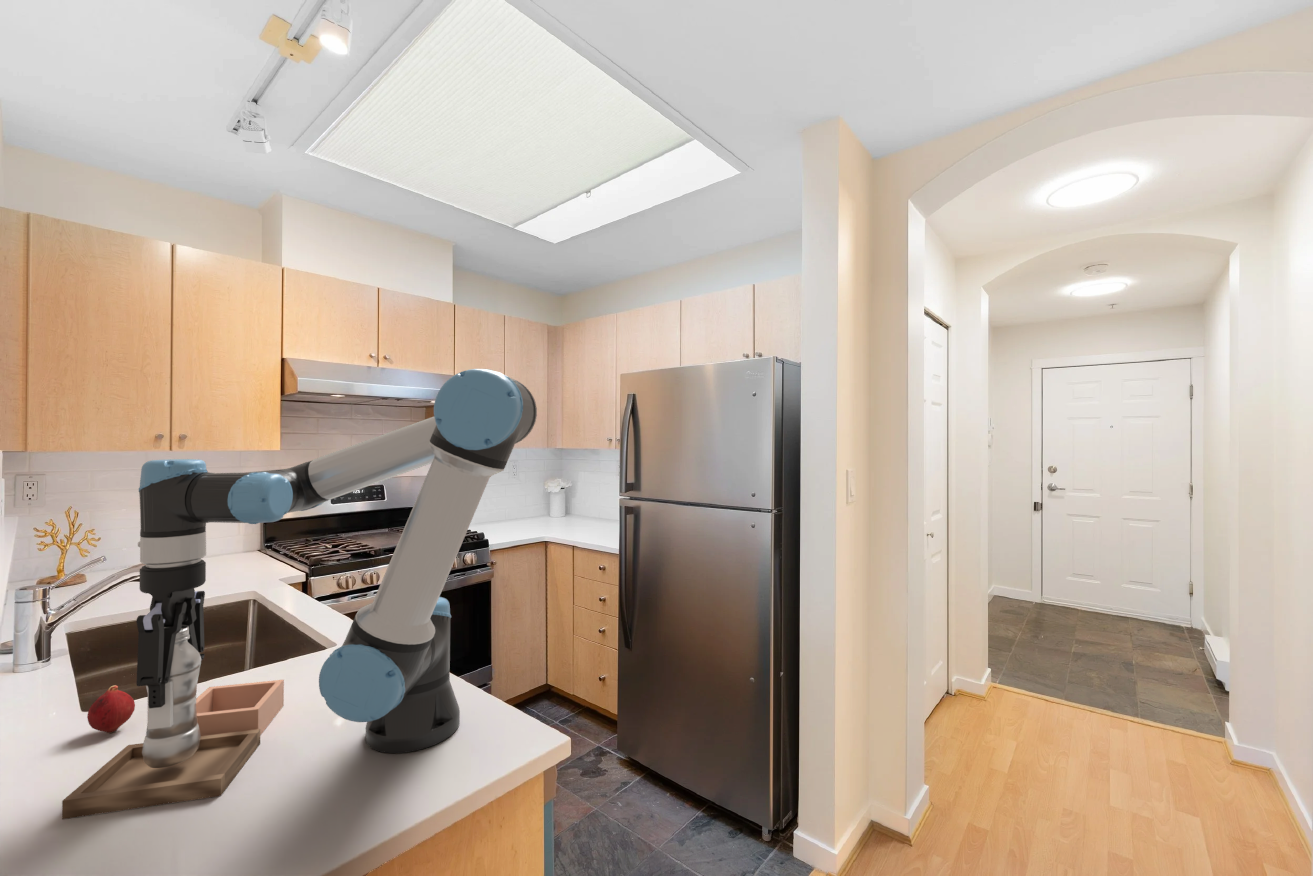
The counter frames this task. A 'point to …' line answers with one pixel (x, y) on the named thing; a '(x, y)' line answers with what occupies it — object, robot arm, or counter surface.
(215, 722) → the wooden box frame
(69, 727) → the counter surface
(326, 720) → the counter surface
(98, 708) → the onion
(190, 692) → the plastic bottle
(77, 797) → the tray
